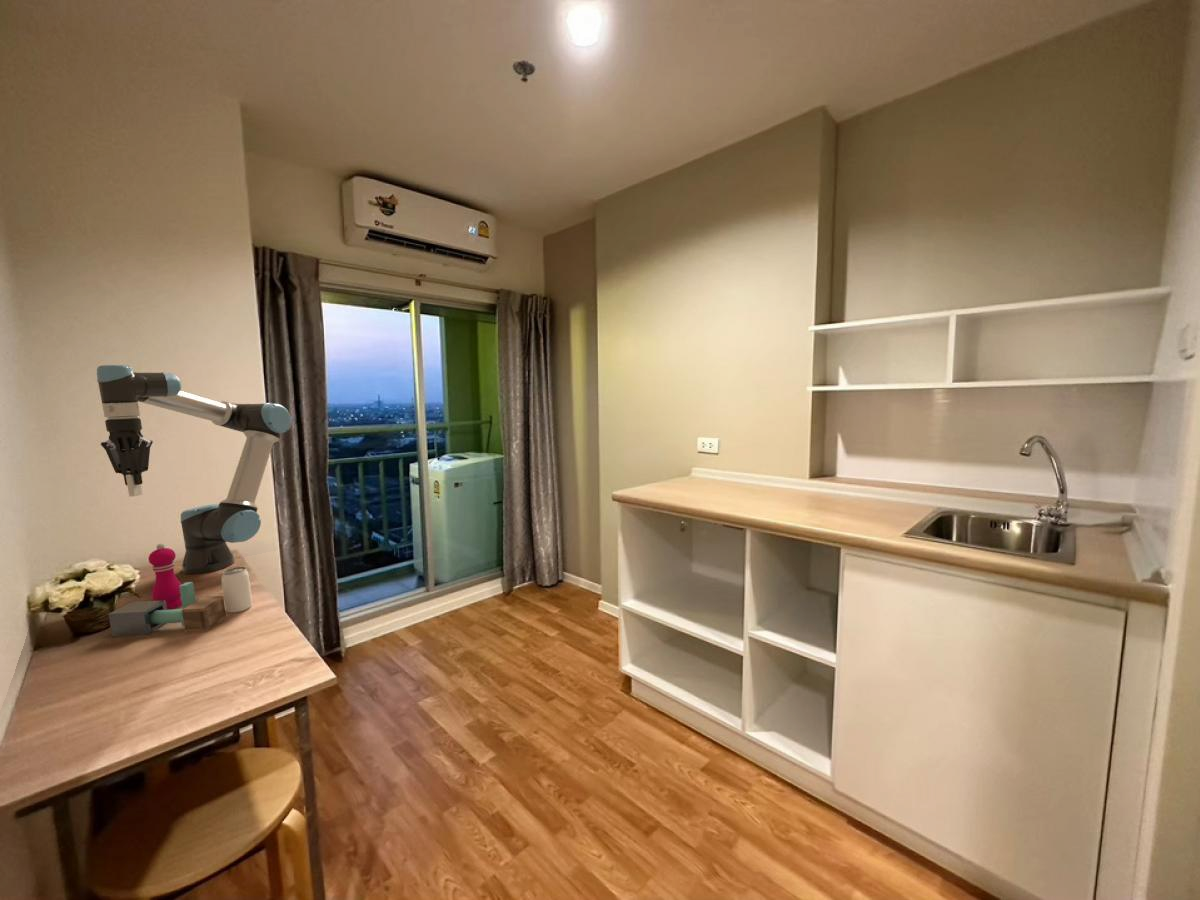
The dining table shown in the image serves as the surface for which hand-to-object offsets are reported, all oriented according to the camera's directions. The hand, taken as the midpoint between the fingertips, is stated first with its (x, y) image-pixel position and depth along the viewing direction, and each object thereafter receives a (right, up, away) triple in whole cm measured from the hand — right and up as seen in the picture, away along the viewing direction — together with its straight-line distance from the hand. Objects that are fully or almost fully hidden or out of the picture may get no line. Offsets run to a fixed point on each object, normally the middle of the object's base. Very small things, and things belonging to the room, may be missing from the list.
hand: (135, 495), depth 144 cm
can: (+32, -34, -1) cm, 47 cm away
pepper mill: (+9, -34, +1) cm, 36 cm away
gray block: (+14, -36, -12) cm, 40 cm away
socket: (+31, -35, -11) cm, 48 cm away
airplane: (+24, -34, -12) cm, 44 cm away
